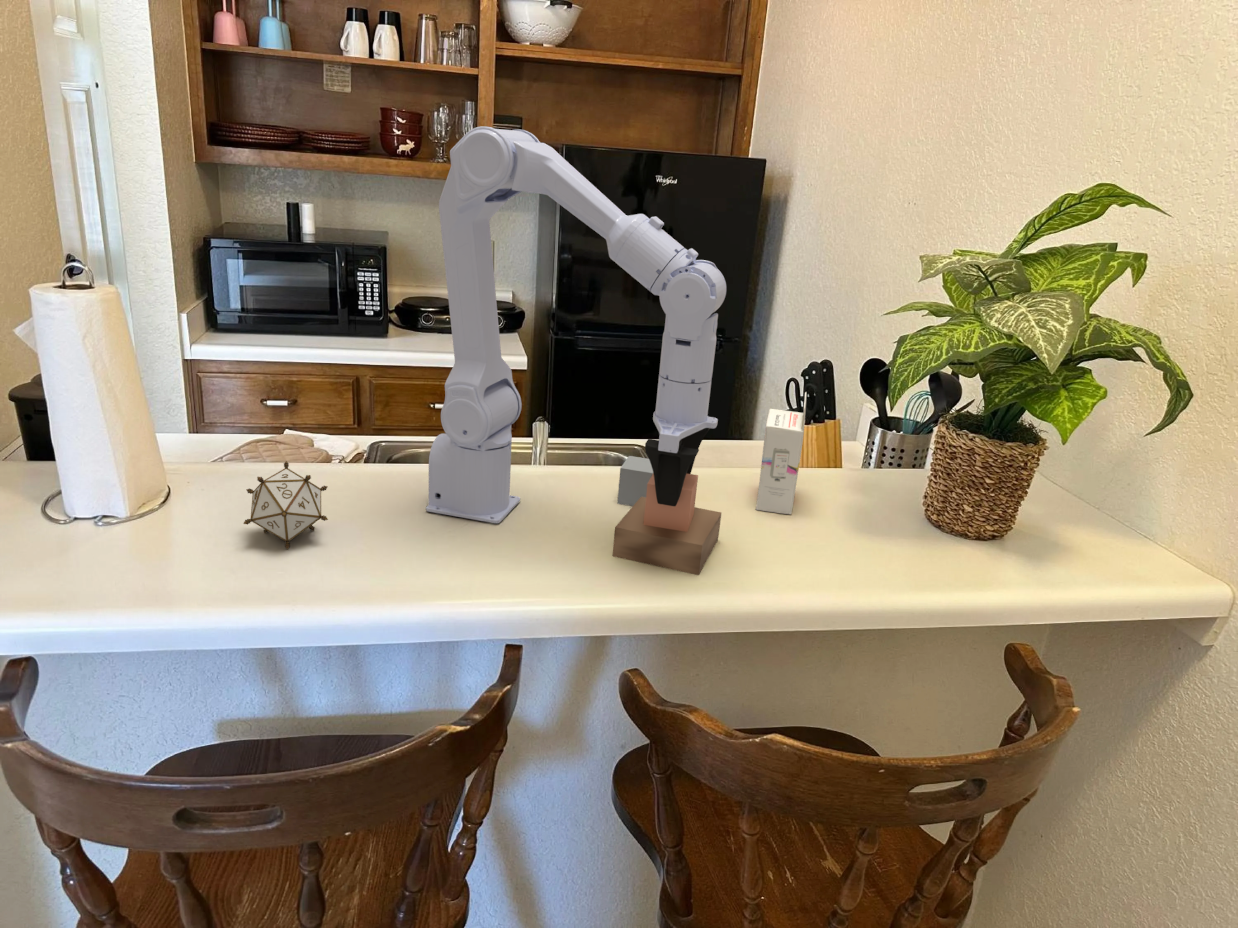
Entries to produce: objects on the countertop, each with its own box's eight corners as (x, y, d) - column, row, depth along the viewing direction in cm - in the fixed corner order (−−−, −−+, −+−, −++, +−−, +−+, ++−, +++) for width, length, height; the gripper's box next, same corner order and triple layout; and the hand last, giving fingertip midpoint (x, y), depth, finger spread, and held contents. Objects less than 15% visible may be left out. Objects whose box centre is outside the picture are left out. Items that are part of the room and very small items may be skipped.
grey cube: (617, 504, 113) (620, 468, 111) (626, 490, 118) (629, 455, 116) (655, 510, 112) (658, 474, 110) (662, 496, 117) (666, 461, 115)
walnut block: (612, 559, 99) (615, 527, 97) (638, 526, 108) (641, 496, 106) (698, 578, 96) (702, 545, 95) (717, 542, 105) (721, 512, 104)
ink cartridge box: (757, 487, 122) (771, 386, 117) (793, 492, 122) (809, 390, 116) (753, 510, 114) (768, 402, 109) (791, 516, 114) (809, 407, 109)
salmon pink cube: (643, 524, 99) (647, 483, 97) (651, 508, 103) (655, 468, 101) (687, 531, 98) (692, 490, 96) (693, 515, 102) (698, 475, 101)
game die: (309, 567, 98) (356, 511, 94) (237, 563, 92) (285, 502, 88) (288, 506, 103) (332, 450, 99) (218, 498, 96) (262, 437, 92)
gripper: (712, 398, 87) (697, 522, 92) (729, 367, 101) (716, 476, 105) (643, 389, 89) (632, 511, 93) (669, 359, 102) (658, 467, 107)
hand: (672, 492), depth 99 cm, fingers open, 6 cm apart
